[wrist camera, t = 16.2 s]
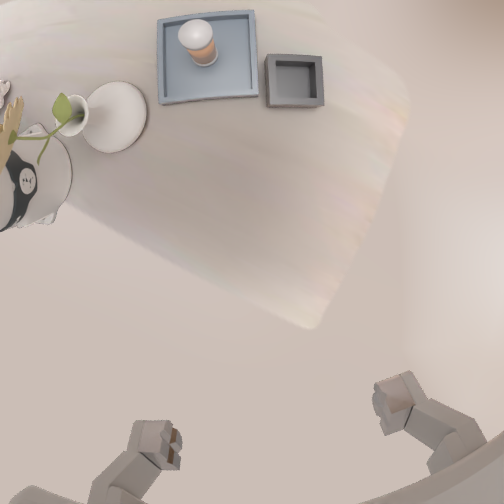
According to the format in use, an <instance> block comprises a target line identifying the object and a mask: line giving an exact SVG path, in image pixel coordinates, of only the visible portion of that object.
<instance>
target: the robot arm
mask: <svg viewBox="0 0 504 504" xmlns="http://www.w3.org/2000/svg"><path fill="white" fill-rule="evenodd" d="M47 135H49V134H48V133H47V132H46V131H45V129H44V128H43V126H42V125H41V124H39V123H37V124H34V125H32V126H31V127H29V128H28V129H27V130H25V131H24V132H22V133H21V134H20V135H18V136H17V137H44V136H47ZM47 139H48V138H47ZM47 139H44V140H16V141H15V142H14V144H13V148H12V150H11V152H10V156H9V158H8V160H7V162H6V165H5V167H4V168H3V170H2V172H1V174H0V232H2V231H4V230H7V229H9V228H13V227H15V226H17V227H18V228H22V227H28V226H30V225H32V224H34V223H39V224H51V223H53V222H54V221H55V218H56V214H57V211H58V208H59V207H60V206H61V204H62V203H63V202H64V200H65V199H66V197H67V195H68V192H69V189H70V185H71V176H72V172H71V163H70V159H69V156H68V153H67V151H66V149H65V147H64V146H63V144H62V143H61V142H60V141H59V140H58V139H57V138H55V137H53V136H51V137H50V140H49V143H48V145H47V147H46V149H45V151H44V152H43V154H42V156H41V158H40V162H39V166H38V164H37V159H38V156H39V154H40V152H41V151H42V149H43V147H44V145H45V143H46V141H47ZM374 390H375V393H374V394H373V398H372V401H373V407H374V410H375V413H376V415H377V416H379V417H381V420H380V425H381V428H382V430H383V433H384V435H385V436H386V435H389V434H392V433H394V432H397V431H400V430H403V429H404V430H405V431H406V432H408V433H409V434H410V435H412V436H413V437H415V438H416V439H418V440H419V441H421V442H422V443H424V444H425V445H427V446H428V447H429V448H431V449H433V450H434V453H433V454H432V456H431V457H430V458H429V459H428V461H427V466H428V468H429V471H430V473H431V476H429V477H427V478H424V479H422V480H420V481H418V482H416V483H413V484H411V485H409V486H406V487H404V488H402V489H399V490H397V491H394V492H391V493H389V494H386V495H383V496H381V497H378V498H375V499H372V500H369V501H366V502H362V503H359V504H504V431H503V432H501V433H500V434H499V435H497V436H496V437H494V438H493V439H492V440H490V441H489V442H487V440H486V439H485V437H484V435H483V433H482V431H481V430H480V428H479V426H478V424H477V423H476V421H475V419H474V418H471V417H469V416H467V415H465V414H463V413H461V412H459V411H456V410H454V409H452V408H450V407H448V406H446V405H444V404H442V403H440V402H438V401H436V400H434V399H432V398H431V399H428V398H427V397H426V395H425V393H424V391H423V390H422V388H421V386H420V384H419V383H418V381H417V379H416V378H415V376H414V374H413V373H412V372H411V371H406V372H404V373H401V374H399V375H395V376H393V377H390V378H387V379H385V380H382V381H379V382H376V383H375V384H374ZM172 426H173V424H172V423H171V422H170V421H169V420H161V421H147V420H136V421H135V422H134V423H133V427H132V431H131V435H130V439H129V443H128V447H127V451H123V453H121V454H120V455H119V456H118V457H117V458H116V459H115V460H114V461H113V462H112V463H111V464H110V465H109V466H108V467H107V468H106V469H105V470H104V471H103V472H102V473H101V474H100V475H99V476H98V477H97V478H96V479H95V480H94V481H93V482H92V486H91V490H90V495H89V499H88V503H87V504H147V503H145V502H143V501H142V500H141V498H142V497H143V496H144V494H145V493H146V492H147V490H148V489H149V487H150V486H151V485H152V483H153V482H154V481H155V480H156V478H157V477H158V476H159V474H160V473H161V470H180V461H181V457H180V456H179V454H178V453H179V451H180V450H181V449H182V437H181V435H180V433H179V431H178V430H177V429H175V428H173V427H172ZM9 504H83V503H79V502H76V501H73V500H70V499H67V498H65V497H62V496H59V495H56V494H54V493H51V492H49V491H46V490H44V489H41V488H39V487H37V486H33V485H31V486H28V487H26V488H25V489H23V490H22V491H21V492H19V493H18V494H17V495H15V496H14V497H13V498H12V499H11V501H10V503H9Z"/></svg>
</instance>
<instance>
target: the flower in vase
mask: <svg viewBox="0 0 504 504" xmlns="http://www.w3.org/2000/svg"><path fill="white" fill-rule="evenodd" d="M23 107H24V102H23V99H22V96H20V98H19V101H18V97H16V99H15V101H14V105H13V107H12V105H11V102H9V103H8V105H7V109H6V111H5V114H4V123H3V125H2V124H0V174H1V172H2V170H3V168H4V167H5V165H6V162H7V160H8V158H9V156H10V152H11V150H12V148H13V144H14V142H15V141H16V140H44V139H47V138H48V139H47V141H46V143H45V145H44V147H43V149H42V151H41V152H40V154H39V156H38V159H37V164H38V166H39V162H40V158H41V156H42V154H43V152H44V151H45V149H46V147H47V145H48V143H49V140H50V137H51V136H52V135H53V134H55V133H56V132H57V131H58V132H59V133H60V134H61V135H63V136H66V137H72V136H75V135H77V134H78V133H79V132H80V131H82V133H83V136H84V138H85V140H86V141H87V142H88V143H89V144H90V145H91V146H92V147H93V148H95V149H96V150H98V151H101V152H105V153H115V152H119V151H121V150H124V149H126V148H127V147H129V146H130V145H131V144H132V143H133V142H135V140H136V139H137V138H138V137H139V135H140V134H141V132H142V130H143V127H144V125H145V121H146V115H147V109H146V103H145V100H144V97H143V95H142V94H141V92H140V91H139V90H138V89H137V88H136V87H135V86H133V85H132V84H130V83H127V82H123V81H114V82H110V83H107V84H105V85H103V86H101V87H99V88H98V89H96V90H95V91H94V92H93V93H92V94H91V95H90V96H89V98H88V99H87V101H86V100H85V99H84V98H83V97H82V96H80V95H70V96H68V97H66V96H65V95H64V94H63V93H60V95H59V96H58V98H57V99H56V101H55V103H54V105H53V109H52V112H53V115H54V116H55V125H56V128H57V129H55V130H54V131H53V132H52V133H50V134H49V135H47V136H44V137H17V131H18V129H19V125H20V120H21V116H22V111H23Z"/></svg>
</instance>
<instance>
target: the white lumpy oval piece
mask: <svg viewBox="0 0 504 504" xmlns="http://www.w3.org/2000/svg"><path fill="white" fill-rule="evenodd" d="M3 82H4V80H0V109H1V108H2V107H3V105H4V98H3V96H4V95H5V94H6V93H7V92H8V90H9V88H10V82H9V81H7V82H6V84H3Z"/></svg>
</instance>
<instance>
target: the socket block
mask: <svg viewBox="0 0 504 504" xmlns="http://www.w3.org/2000/svg"><path fill="white" fill-rule="evenodd" d="M265 80H266V101H267V107H310V108H317V107H320V106H324V87H323V69H322V56H311V55H293V54H267V57H266V59H265Z"/></svg>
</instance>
